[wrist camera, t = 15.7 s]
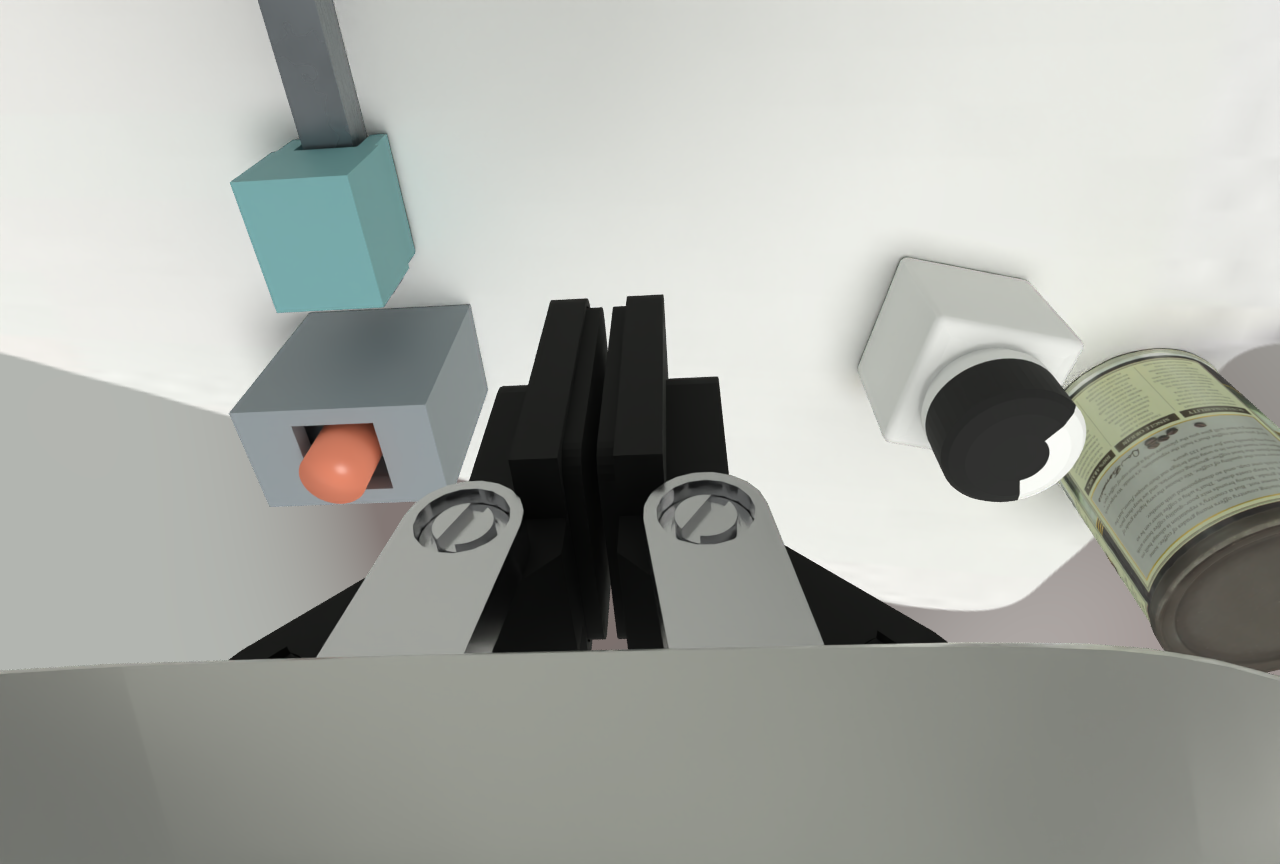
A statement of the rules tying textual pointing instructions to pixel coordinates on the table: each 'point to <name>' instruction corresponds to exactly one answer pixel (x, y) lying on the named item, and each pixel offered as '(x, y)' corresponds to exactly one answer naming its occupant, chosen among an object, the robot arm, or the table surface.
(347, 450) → the plunger
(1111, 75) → the table surface
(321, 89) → the rail
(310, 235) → the block
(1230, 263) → the table surface
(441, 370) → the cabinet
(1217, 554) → the coffee can
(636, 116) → the table surface
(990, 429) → the medicine bottle
